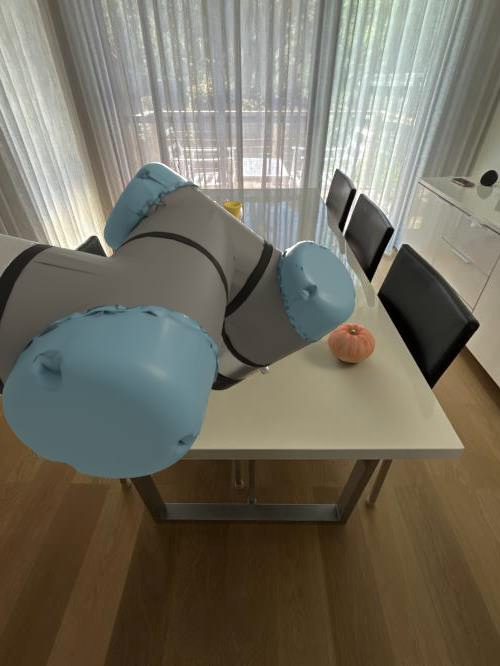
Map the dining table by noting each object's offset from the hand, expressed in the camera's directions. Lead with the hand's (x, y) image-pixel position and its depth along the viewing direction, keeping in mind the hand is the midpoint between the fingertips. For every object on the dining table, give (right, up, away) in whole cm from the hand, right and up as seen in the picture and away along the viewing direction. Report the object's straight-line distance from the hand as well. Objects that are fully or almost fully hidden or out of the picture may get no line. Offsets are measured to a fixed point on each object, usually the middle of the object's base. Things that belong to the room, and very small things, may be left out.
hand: (158, 399), depth 53 cm
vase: (+10, +22, +52) cm, 57 cm away
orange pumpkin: (+38, +5, +30) cm, 49 cm away
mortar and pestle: (+5, +59, +101) cm, 117 cm away
